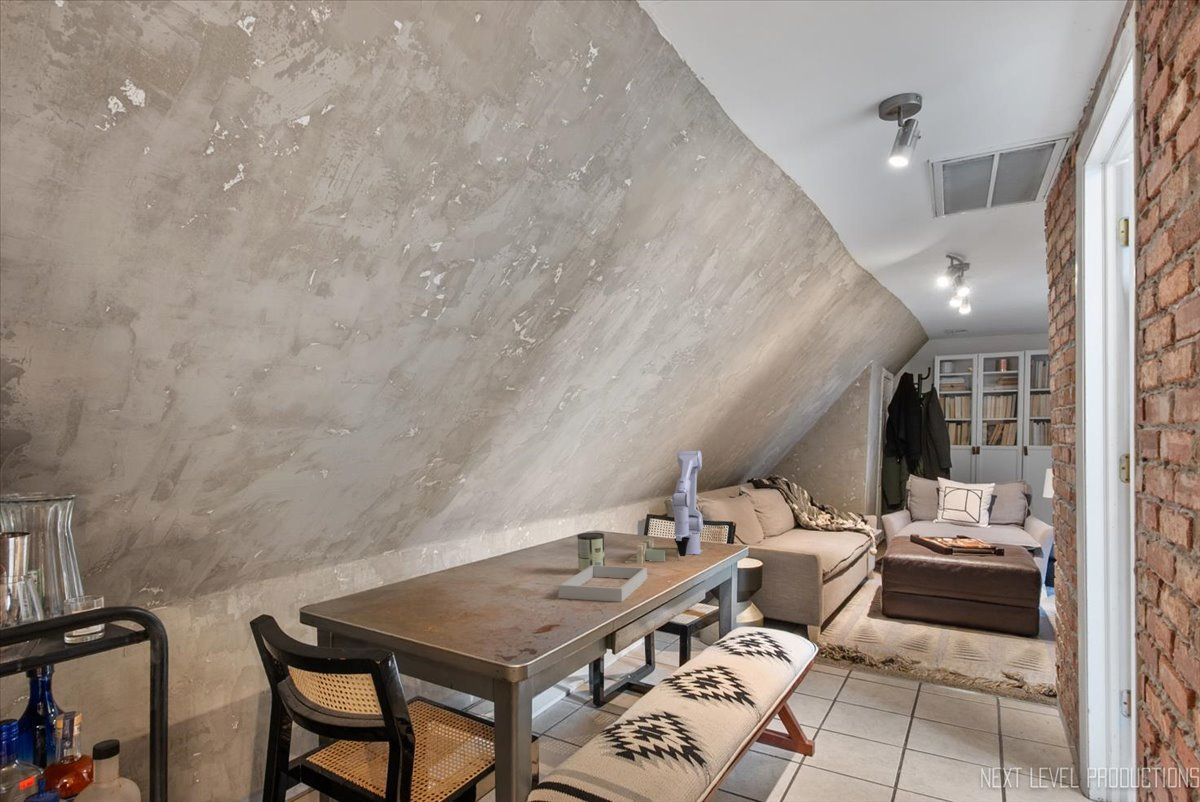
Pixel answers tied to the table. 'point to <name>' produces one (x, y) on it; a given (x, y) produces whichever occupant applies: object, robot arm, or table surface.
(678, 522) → the robot arm
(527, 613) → the table surface
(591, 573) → the gray rectangular frame
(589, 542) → the coffee can
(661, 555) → the block
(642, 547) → the wall
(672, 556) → the peg
